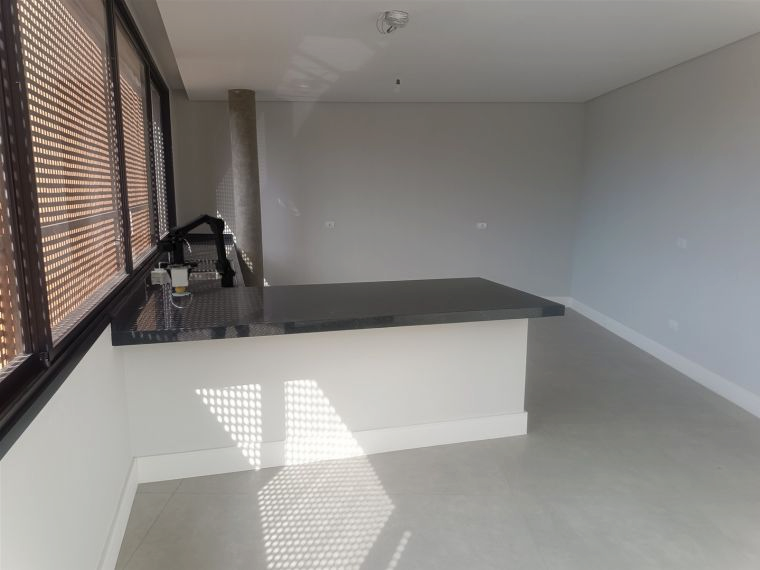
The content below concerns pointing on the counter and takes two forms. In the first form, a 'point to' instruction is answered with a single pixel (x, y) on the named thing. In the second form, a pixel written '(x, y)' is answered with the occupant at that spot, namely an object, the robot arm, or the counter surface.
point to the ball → (180, 289)
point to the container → (159, 275)
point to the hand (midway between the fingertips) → (180, 280)
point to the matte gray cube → (179, 277)
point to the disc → (181, 294)
